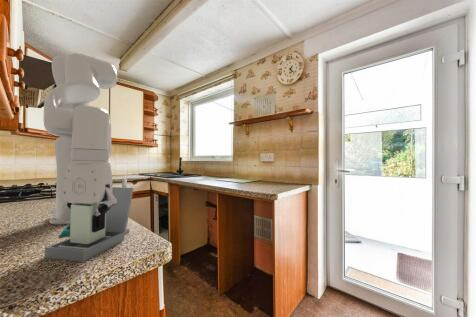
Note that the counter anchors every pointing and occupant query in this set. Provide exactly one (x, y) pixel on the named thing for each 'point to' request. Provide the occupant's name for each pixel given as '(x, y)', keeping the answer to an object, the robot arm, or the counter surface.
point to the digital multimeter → (66, 231)
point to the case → (83, 247)
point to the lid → (119, 210)
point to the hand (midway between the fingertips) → (88, 228)
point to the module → (83, 224)
